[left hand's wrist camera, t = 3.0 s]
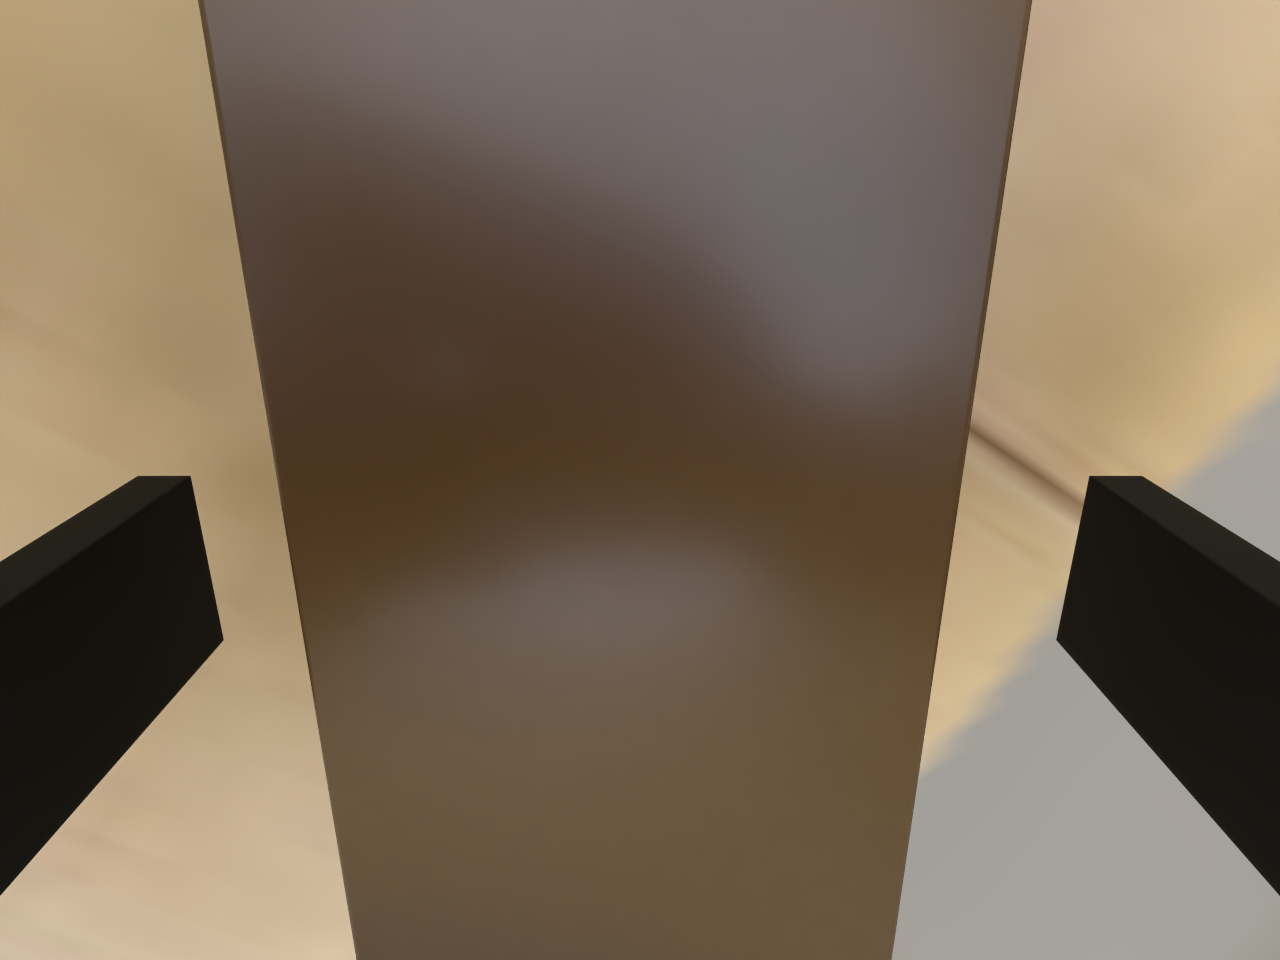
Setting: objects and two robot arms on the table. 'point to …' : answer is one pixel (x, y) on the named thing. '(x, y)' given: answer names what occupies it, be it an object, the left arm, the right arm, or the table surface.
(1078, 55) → the table surface
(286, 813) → the table surface
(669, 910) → the beam
